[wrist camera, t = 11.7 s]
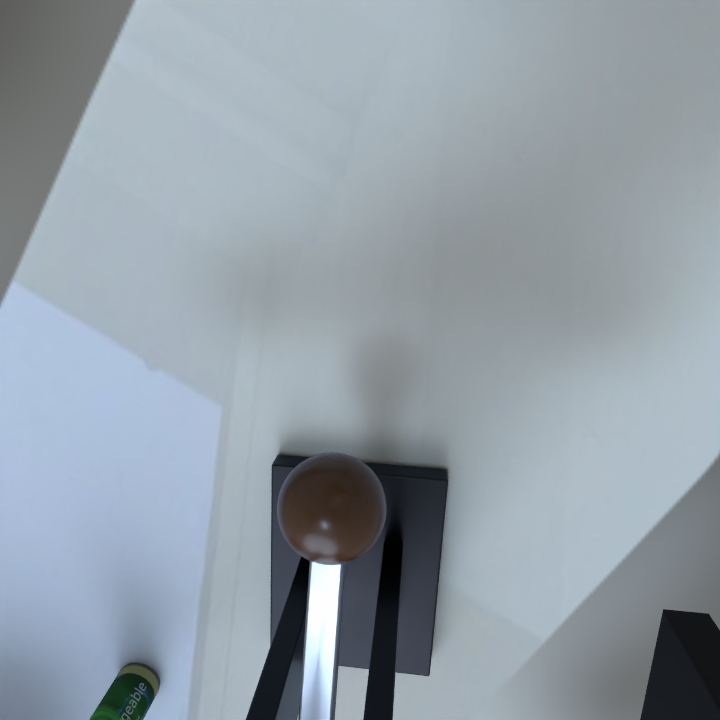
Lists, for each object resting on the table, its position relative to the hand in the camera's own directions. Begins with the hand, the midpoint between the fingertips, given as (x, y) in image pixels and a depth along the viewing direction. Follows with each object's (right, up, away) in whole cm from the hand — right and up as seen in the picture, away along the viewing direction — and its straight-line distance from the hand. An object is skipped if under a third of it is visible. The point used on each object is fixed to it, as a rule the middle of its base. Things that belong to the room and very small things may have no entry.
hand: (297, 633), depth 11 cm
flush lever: (0, -4, +10) cm, 11 cm away
